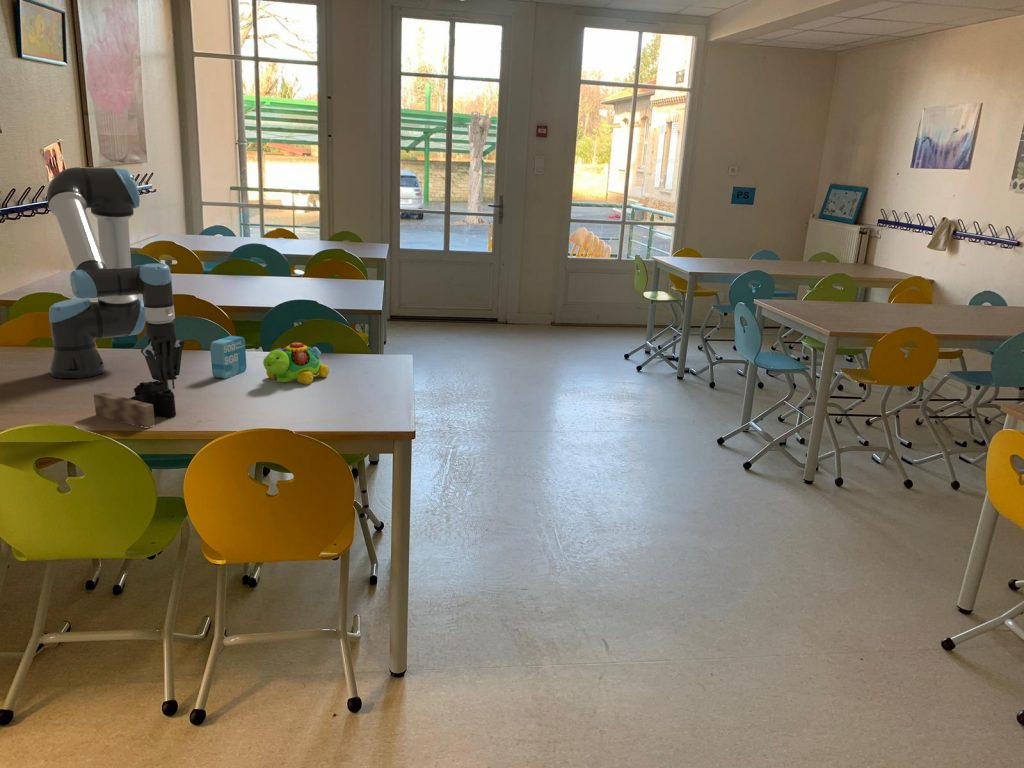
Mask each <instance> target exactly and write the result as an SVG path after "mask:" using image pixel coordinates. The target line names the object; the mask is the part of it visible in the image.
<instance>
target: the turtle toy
mask: <svg viewBox="0 0 1024 768" xmlns="http://www.w3.org/2000/svg"><path fill="white" fill-rule="evenodd" d="M321 354H322V351H320V349H319V348H318V347H316V346H313V347H311V346H307V345H305V344H304V343H302V342H299V341H298V342H297V341H295V342H292V343H290V344H289V345H287V346H286V347H284V348H280V347H278V348H276V349H273V350H271V351H270V352H269V353H268V354H267V355H266V356H265V357H264V358H263V361H262V364H263V368H264V369H265V372H266V375H267V376H266V377H268V379H273V380H276V381H277V382H279V383H288V382H295V381H297V382H298V383H299V384H301V385H310V384H311V383H312V382H313V381H314V378H316V377H317V378H326V377H327V376H329V373H330V368H329V366H328V365H326V364H323V363H322V361H321V359H320V356H321Z"/></svg>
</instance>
